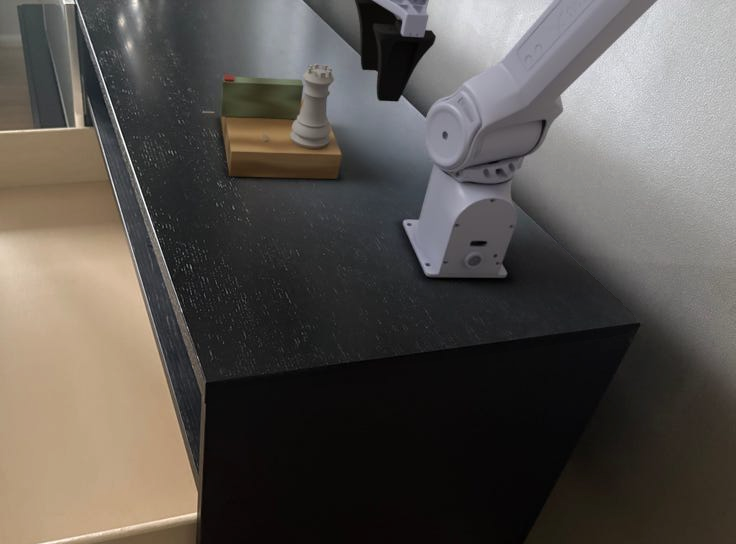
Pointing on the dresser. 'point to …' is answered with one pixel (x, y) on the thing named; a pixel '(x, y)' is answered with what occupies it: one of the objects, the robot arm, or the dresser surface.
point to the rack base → (275, 150)
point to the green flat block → (260, 97)
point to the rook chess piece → (313, 109)
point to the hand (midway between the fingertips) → (379, 84)
